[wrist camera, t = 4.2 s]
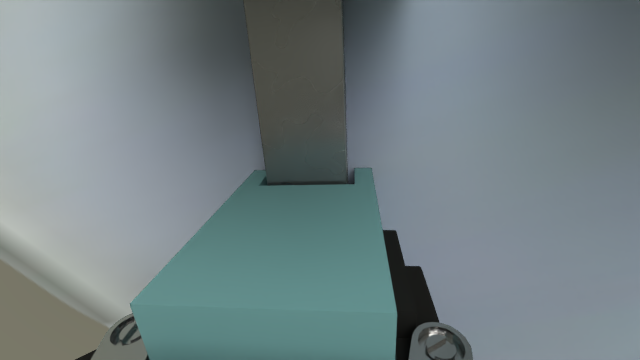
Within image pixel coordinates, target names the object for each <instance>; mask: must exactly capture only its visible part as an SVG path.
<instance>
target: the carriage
mask: <svg viewBox="0 0 640 360" xmlns="http://www.w3.org/2000/svg"><path fill="white" fill-rule="evenodd" d="M354 173H355V184H337V185H276V186H268V185H267V177H266V170H255V171H254V172H253V173H252V174H251V175H250V176H249V177H248V178H247V179H246V181H245V182H244V183H243V184H242V185H241V186H240V187H239V188H238V189H237V190H236V191H235V192H234V193H233V194H232V195H231V197H230V198H229V199H228V200H227V201H226V202H225V203H224V204H223V205H222V206H221V207H220V208H219V209H218V210H217V211H216V213H215V214H214V215H213V216H212V217H211V218H210V219H209V220H208V221H207V222H206V223H205V224H204V225H203V226H202V227H201V229H200V230H199V231H198V232H197V233H196V234H195V235H194V236H193V237H192V238H191V239H190V240H189V241H188V242H187V243H186V245H185V246H184V247H183V248H182V249H181V250H180V251H179V252H178V253H177V254H176V255H175V256H174V257H173V258H172V259H171V261H170V262H169V263H168V264H167V265H166V266H165V267H164V268H163V269H162V270H161V271H160V272H159V273H158V274H157V276H156V277H155V278H154V279H153V280H152V281H151V282H150V283H149V284H148V285H147V286H146V287H145V288H144V289H143V290H142V292H141V293H140V294H139V295H138V296H137V297H136V298H135V299H134V300H133V301H132V302H131V303H130V307H131V309H132V312H133V315H134V318H135V320H136V323H137V326H138V329H139V331H140V334H141V337H142V340H143V343H144V345H145V348H146V351H147V354H148V356H149V359H150V360H395V354H396V330H397V309H396V304H395V298H394V292H393V287H392V281H391V275H390V270H389V264H388V259H387V253H386V247H385V242H384V236H383V230H382V225H381V219H380V213H379V208H378V202H377V196H376V191H375V185H374V180H373V174H372V168H354Z"/></svg>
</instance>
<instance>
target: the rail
mask: <svg viewBox="0 0 640 360" xmlns="http://www.w3.org/2000/svg"><path fill="white" fill-rule="evenodd" d="M243 1H244V9H245V17H246V24H247V32H248V40H249V47H250V55H251V62H252V70H253V78H254V85H255V93H256V101H257V108H258V116H259V124H260V131H261V139H262V147H263V154H264V162H265V169H266V177H267V185H268V186H276V185H337V184H348V169H347V133H346V97H345V61H344V26H343V0H243Z"/></svg>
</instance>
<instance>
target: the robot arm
mask: <svg viewBox="0 0 640 360" xmlns="http://www.w3.org/2000/svg"><path fill="white" fill-rule="evenodd" d="M383 236H384V242H385V247H386V253H387V259H388V264H389V270H390V275H391V281H392V287H393V292H394V298H395V304H396V309H397V330H396V354H395V360H473V355H472V350H471V346H470V344H469V342H468V341H467V339H466V338H465V337H464V336H463V335H462V334H461V333H460V332H459V331H458V330H456V329H454V328H453V327H451V326H449V325H446V324H443V323H439V320H438V317H437V314H436V311H435V308H434V305H433V302H432V299H431V296H430V293H429V290H428V287H427V284H426V281H425V278H424V275H423V272H422V269H421V267H420V266H405V263H404V260H403V256H402V252H401V248H400V244H399V240H398V236H397V232H396V230H383ZM76 360H150V359H149V356H148V354H147V351H146V348H145V345H144V343H143V340H142V337H141V334H140V331H139V329H138V326H137V323H136V320H135V318H134V315H133V313H132V314H129V315H127V316H125V317H124V318H122V319H120V320H119V321H117V322H116V323H115V324H114V325H113V326H112V327H111V328H110V329H109V330H108V332H107V333H106V334H105V336H104V338H103V339H102V341H101V343H100V345H99V346H98V348H97V349H96V350H94V351H92V352H90V353H88V354H86V355H84V356H82V357H80V358H78V359H76Z"/></svg>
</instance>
